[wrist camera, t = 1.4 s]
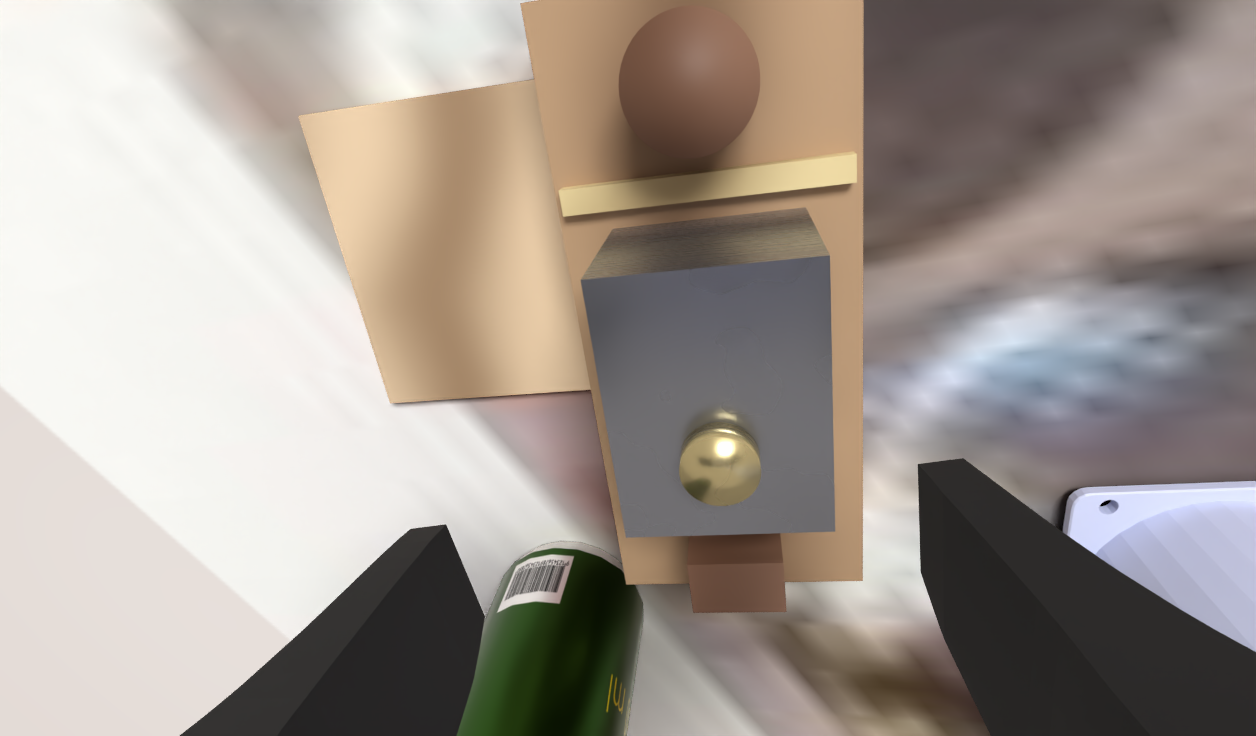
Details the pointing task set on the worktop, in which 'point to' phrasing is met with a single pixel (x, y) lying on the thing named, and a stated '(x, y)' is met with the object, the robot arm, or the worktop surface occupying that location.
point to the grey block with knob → (717, 374)
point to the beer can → (557, 648)
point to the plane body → (716, 209)
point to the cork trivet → (453, 242)
